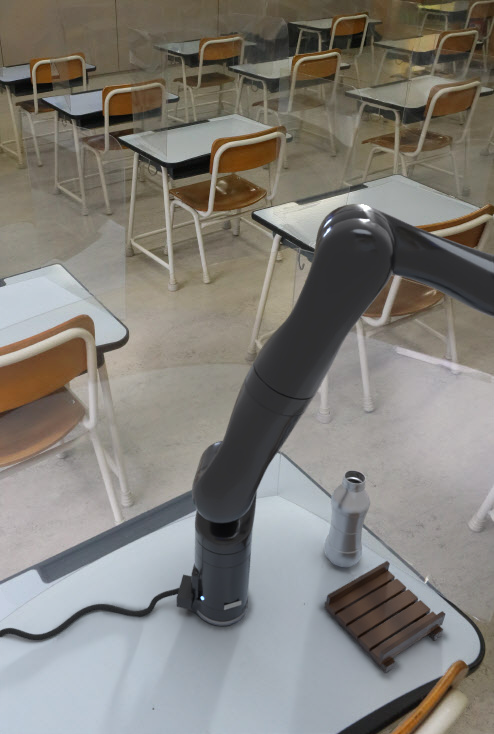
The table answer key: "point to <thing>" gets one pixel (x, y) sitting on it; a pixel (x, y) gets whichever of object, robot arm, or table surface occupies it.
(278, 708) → the table surface
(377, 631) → the wooden slatted rack
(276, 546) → the table surface
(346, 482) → the silver metal bottle
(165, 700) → the table surface
